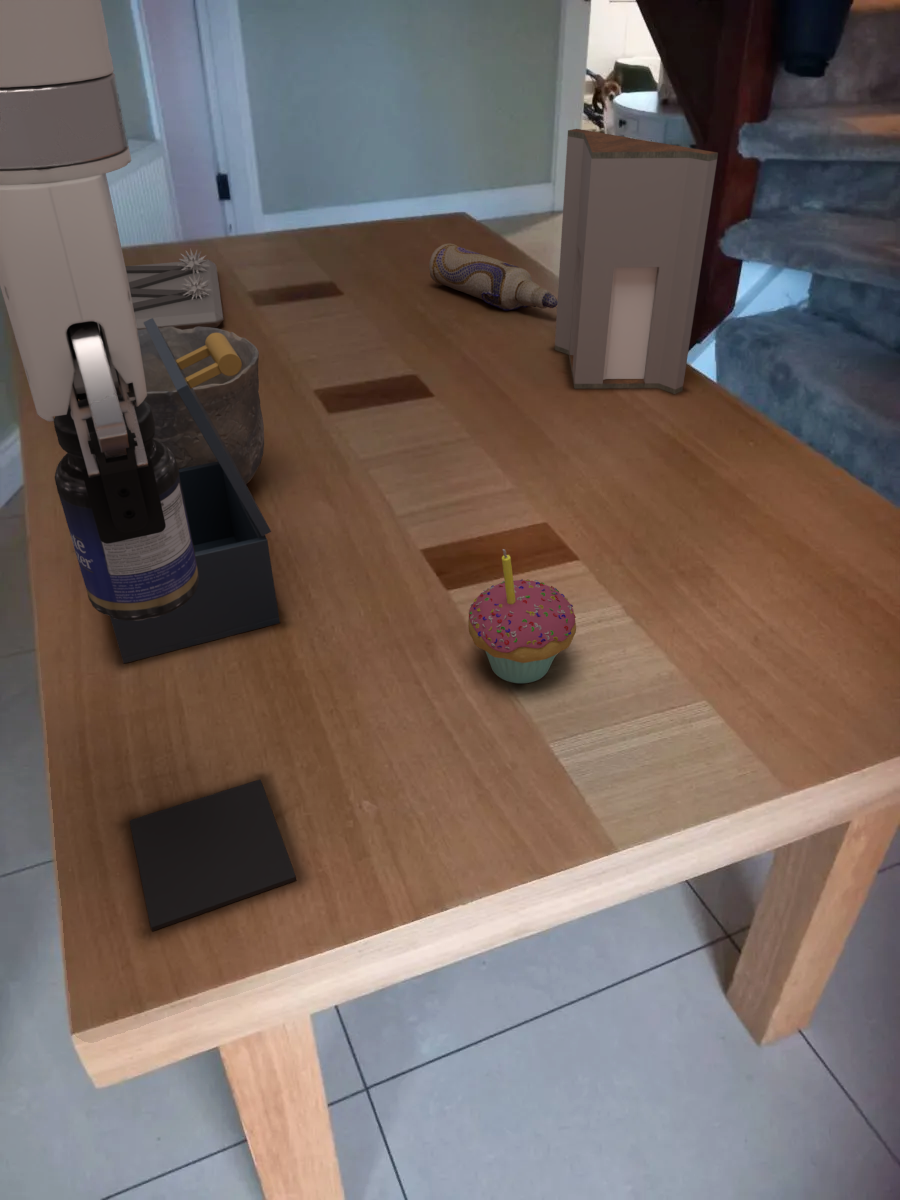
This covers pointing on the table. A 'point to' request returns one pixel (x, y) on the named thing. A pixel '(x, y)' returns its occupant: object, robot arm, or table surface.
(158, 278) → the gray box with spikes
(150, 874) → the mat
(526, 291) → the decorative bottle
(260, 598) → the chest
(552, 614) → the cupcake
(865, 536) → the table surface
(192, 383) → the lid
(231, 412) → the bowl
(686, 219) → the cabinet
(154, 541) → the pill bottle
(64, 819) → the table surface
